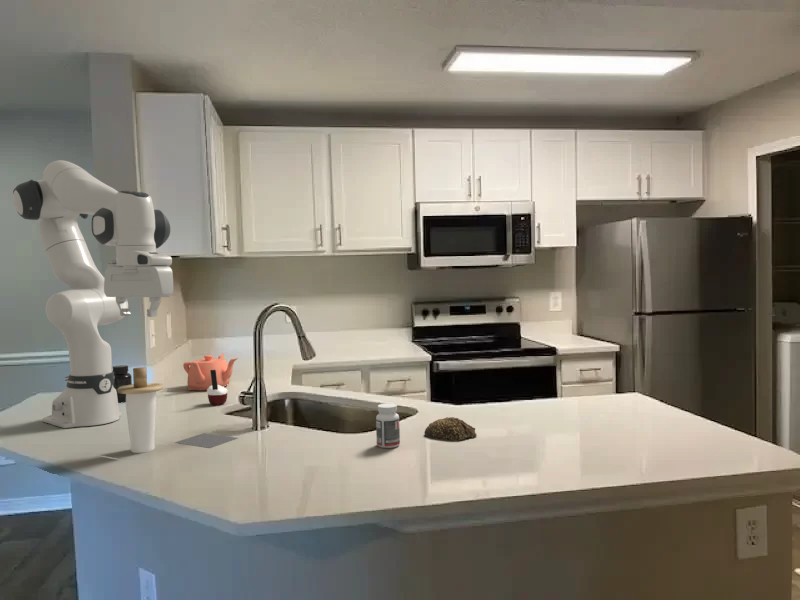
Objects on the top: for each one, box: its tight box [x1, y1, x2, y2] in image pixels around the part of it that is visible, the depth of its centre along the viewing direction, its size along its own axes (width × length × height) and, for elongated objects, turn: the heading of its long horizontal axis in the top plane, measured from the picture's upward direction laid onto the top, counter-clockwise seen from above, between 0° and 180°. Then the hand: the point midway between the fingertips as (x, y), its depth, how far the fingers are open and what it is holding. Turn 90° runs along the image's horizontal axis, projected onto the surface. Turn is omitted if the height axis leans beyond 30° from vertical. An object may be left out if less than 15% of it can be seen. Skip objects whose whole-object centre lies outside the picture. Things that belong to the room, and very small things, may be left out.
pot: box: [182, 353, 239, 391], centre depth 235 cm, size 18×17×12 cm
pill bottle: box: [375, 403, 401, 449], centre depth 152 cm, size 6×6×10 cm
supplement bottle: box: [112, 364, 133, 404], centre depth 212 cm, size 7×7×12 cm
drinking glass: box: [125, 391, 157, 454], centre depth 150 cm, size 7×7×15 cm
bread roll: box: [424, 416, 477, 442], centre depth 162 cm, size 13×12×5 cm
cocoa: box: [206, 370, 228, 406], centre depth 204 cm, size 10×6×12 cm, turn 160°
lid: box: [118, 366, 164, 394], centre depth 150 cm, size 10×10×5 cm
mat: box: [174, 432, 239, 449], centre depth 158 cm, size 12×10×1 cm
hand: (138, 316), depth 149 cm, fingers open, 8 cm apart
